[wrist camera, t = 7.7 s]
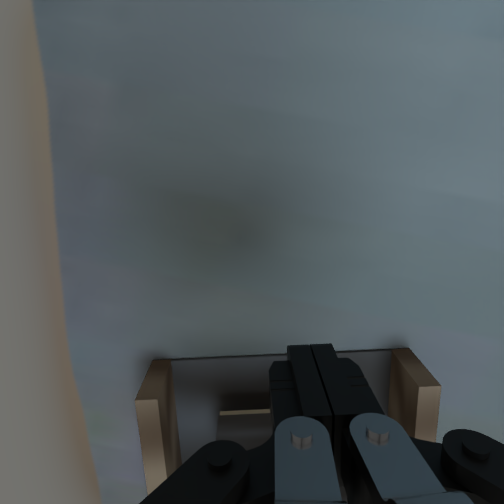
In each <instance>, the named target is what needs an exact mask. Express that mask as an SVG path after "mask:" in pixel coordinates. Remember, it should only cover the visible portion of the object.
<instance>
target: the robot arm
mask: <svg viewBox="0 0 504 504" xmlns="http://www.w3.org/2000/svg"><path fill="white" fill-rule="evenodd" d="M269 401H270V416H271V426H272V435H271V437H270V438H269V439H268V440H267V441H266V442H265V443H264V444H262V445H260V446H258V447H256V448H253V449H250V450H247V451H246V450H245V448H244V447H243V446H241V445H240V444H238V443H236V442H234V441H230V440H217V441H213V442H210V443H208V444H206V445H204V446H202V447H201V448H200V449H199V450H198V451H196V452H195V453H194V454H193V455H192V456H191V457H190V458H189V459H188V460H187V461H185V462H184V463H183V464H182V465H181V466H180V467H179V468H178V469H177V470H176V471H174V472H173V473H172V474H171V475H170V476H169V477H168V478H167V479H166V480H165V481H163V482H162V483H161V484H160V485H159V486H158V487H157V488H156V489H155V490H154V491H153V492H151V493H150V494H149V495H148V496H147V497H146V498H145V499H144V500H143V501H142V502H140V503H139V504H504V444H502V443H500V442H498V441H496V440H494V439H492V438H490V437H488V436H486V435H484V434H482V433H479V432H476V431H472V430H467V429H455V430H451V431H449V432H448V433H446V434H445V436H444V437H443V442H442V444H441V443H436V442H431V441H426V440H421V439H417V438H413V437H410V436H408V434H407V433H406V431H405V430H404V429H403V427H402V426H401V425H400V424H399V423H398V422H397V421H395V420H394V419H392V418H390V417H388V416H386V415H385V414H384V412H383V410H382V408H381V406H380V404H379V402H378V401H377V399H376V397H375V395H374V393H373V391H372V389H371V387H369V384H368V382H367V380H366V378H365V377H364V374H363V372H362V370H361V368H360V367H359V365H357V364H356V363H355V362H354V361H352V360H351V359H350V358H338V357H337V354H336V352H335V350H334V348H333V346H332V344H310V345H290V346H287V360H286V361H273V363H272V365H271V367H270V369H269ZM339 487H344V488H345V491H346V495H347V502H346V501H342V498H341V493H340V488H339Z"/></svg>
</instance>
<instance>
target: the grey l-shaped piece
mask: <svg viewBox="0 0 504 504" xmlns="http://www.w3.org/2000/svg"><path fill="white" fill-rule="evenodd" d="M271 435H272V426H271V416H270V409H259V410H238V411H220V415H218V424H217V435H216V441H217V440H230V441H234V442H236V443H238V444H240V445H241V446H243V447H244V448H245V450H246V451H247V450H250V449H253V448H256V447H258V446H260V445H262V444H264V443H265V442H266V441H267V440H268V439H269V438H270V437H271ZM339 488H340V493H341V498H342V501H346V502H347V495H346V491H345V488H344V487H339Z"/></svg>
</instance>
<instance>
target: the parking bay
mask: <svg viewBox="0 0 504 504" xmlns="http://www.w3.org/2000/svg"><path fill="white" fill-rule="evenodd" d="M336 354H337V357H338V358H350V359H351V360H352V361H354V362H355V363H356V364H357V365H359V367H360V368H361V370H362V372H363V374H364V377H365V378H366V380H367V382H368V384H369V387H371V389H372V391H373V393H374V395H375V397H376V399H377V401H378V402H379V404H380V406H381V408H382V410H383V412H384V414H385V415H386V416H388V417H390V418H392V419H394V420H395V421H397V422H398V423H399V424H400V425H401V426H402V427H403V429H404V430H405V431H406V433H407V434H408V436H410V437H413V438H417V439H421V440H426V441H431V442H436V433H437V423H438V414H439V404H440V394H441V385H440V384H439V383H438V381H437V380H436V379H435V378H434V377H433V376H432V374H431V373H430V372H429V371H428V370H427V368H426V367H425V366H424V365H423V364H422V363H421V361H420V360H419V359H418V358H417V357H416V356H415V354H414V353H413V352H412V351H411V350H410V349H409V348H405V349H383V350H361V351H340V352H336ZM286 360H287V354H275V355H254V356H232V357H211V358H189V359H167V360H153V361H152V363H151V365H150V367H149V370H148V372H147V374H146V376H145V379H144V381H143V383H142V385H141V388H140V390H139V392H138V394H137V397H136V399H135V406H136V413H137V420H138V427H139V435H140V442H141V449H142V456H143V463H144V471H145V478H146V485H147V492H148V495H149V494H150V493H151V492H153V491H154V490H155V489H156V488H157V487H158V486H159V485H160V484H161V483H162V482H163V481H165V480H166V479H167V478H168V477H169V476H170V475H171V474H172V473H173V472H174V471H176V470H177V469H178V468H179V467H180V466H181V465H182V464H183V463H184V462H185V461H187V460H188V459H189V458H190V457H191V456H192V455H193V454H194V453H195V452H196V451H198V450H199V449H200V448H201V447H202V446H204V445H206V444H208V443H210V442H213V441H216V435H217V424H218V415H220V411H238V410H259V409H270V401H269V369H270V367H271V365H272V363H273V361H286Z"/></svg>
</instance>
